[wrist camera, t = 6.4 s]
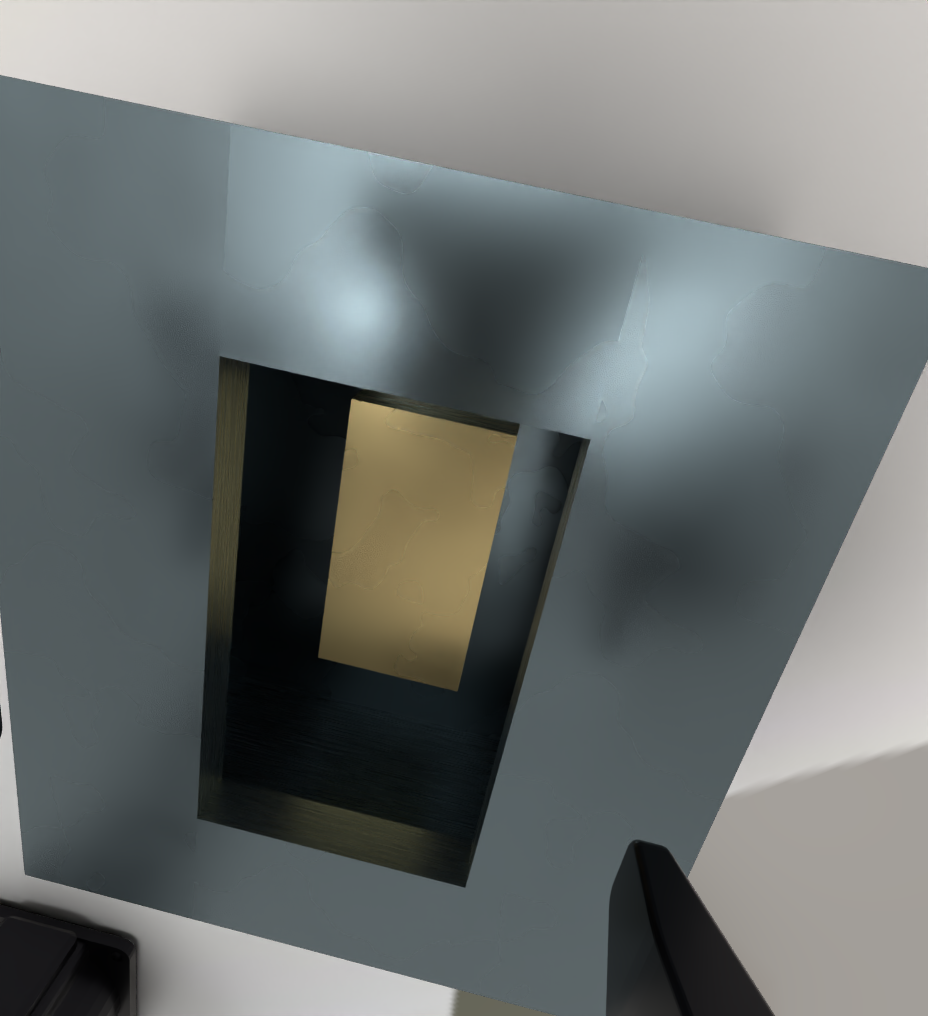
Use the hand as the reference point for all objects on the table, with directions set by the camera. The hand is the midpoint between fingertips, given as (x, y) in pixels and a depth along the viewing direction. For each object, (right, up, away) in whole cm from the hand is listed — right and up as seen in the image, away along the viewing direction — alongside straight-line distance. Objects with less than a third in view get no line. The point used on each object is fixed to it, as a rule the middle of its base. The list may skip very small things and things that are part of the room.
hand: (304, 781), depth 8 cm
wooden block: (+1, +3, +8) cm, 9 cm away
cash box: (+1, +4, +9) cm, 10 cm away
